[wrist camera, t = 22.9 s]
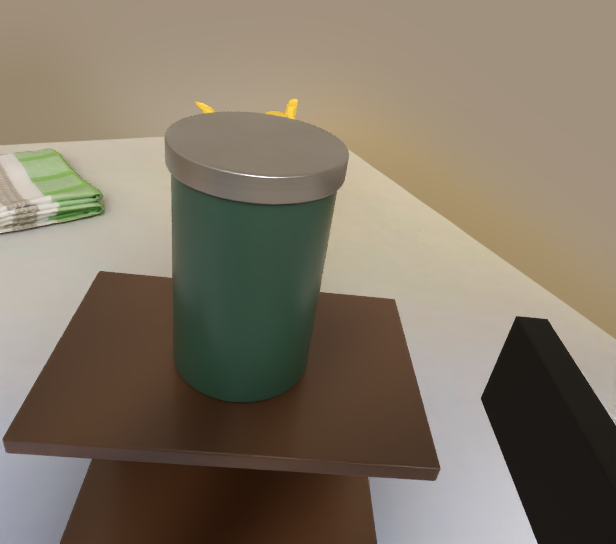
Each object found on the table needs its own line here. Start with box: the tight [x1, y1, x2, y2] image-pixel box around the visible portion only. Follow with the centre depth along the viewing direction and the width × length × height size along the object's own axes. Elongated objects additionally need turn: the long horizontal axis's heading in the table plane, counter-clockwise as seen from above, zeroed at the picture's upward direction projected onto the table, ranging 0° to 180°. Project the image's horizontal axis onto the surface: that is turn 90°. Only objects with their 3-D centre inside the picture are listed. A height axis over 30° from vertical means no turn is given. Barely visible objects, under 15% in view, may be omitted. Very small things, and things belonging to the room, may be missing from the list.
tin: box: [165, 112, 349, 403], centre depth 21 cm, size 6×6×10 cm
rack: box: [3, 271, 440, 544], centre depth 27 cm, size 16×11×11 cm
